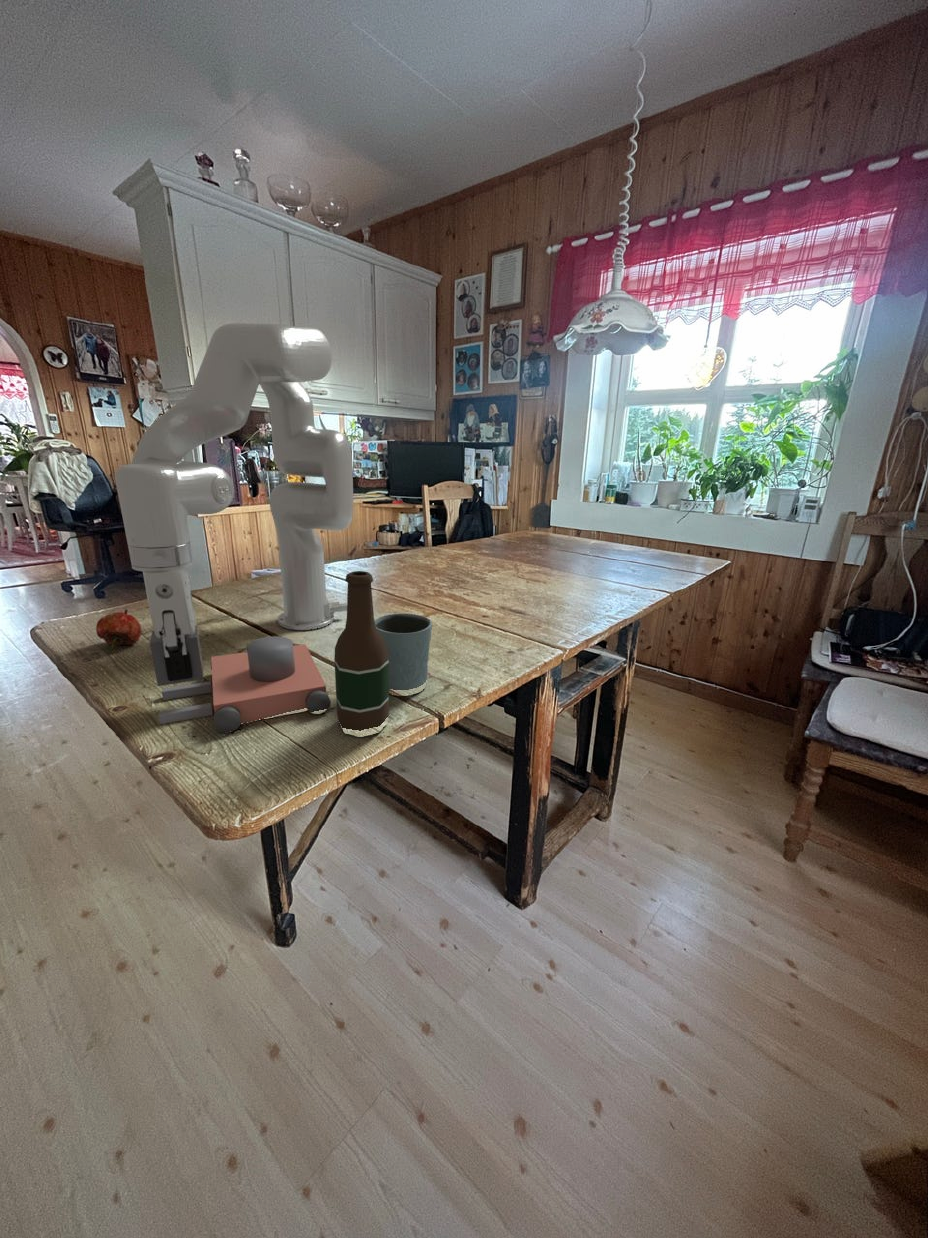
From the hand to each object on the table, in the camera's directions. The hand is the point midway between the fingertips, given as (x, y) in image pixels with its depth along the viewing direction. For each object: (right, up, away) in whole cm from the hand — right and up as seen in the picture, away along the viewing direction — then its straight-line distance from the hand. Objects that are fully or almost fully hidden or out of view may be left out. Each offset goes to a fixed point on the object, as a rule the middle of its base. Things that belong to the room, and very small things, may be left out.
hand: (181, 669), depth 75 cm
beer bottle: (+28, -9, 0) cm, 30 cm away
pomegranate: (-25, +2, +22) cm, 33 cm away
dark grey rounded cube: (0, -1, 0) cm, 1 cm away
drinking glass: (+33, -4, +12) cm, 35 cm away
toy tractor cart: (+7, -5, +6) cm, 11 cm away
